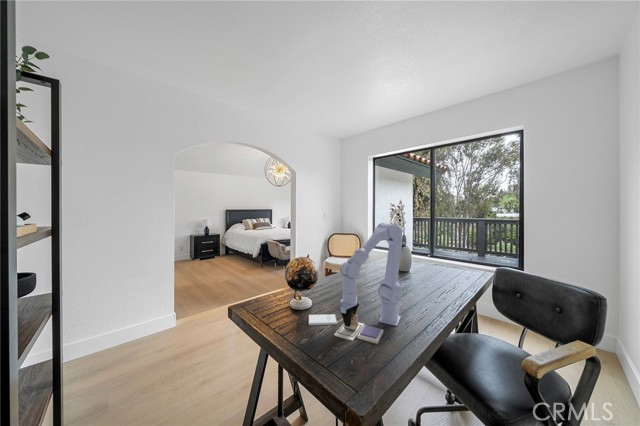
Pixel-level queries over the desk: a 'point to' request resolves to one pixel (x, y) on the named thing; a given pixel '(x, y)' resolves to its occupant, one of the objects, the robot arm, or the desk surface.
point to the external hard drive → (322, 319)
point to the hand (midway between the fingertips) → (349, 323)
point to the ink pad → (370, 334)
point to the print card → (348, 332)
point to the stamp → (353, 323)
